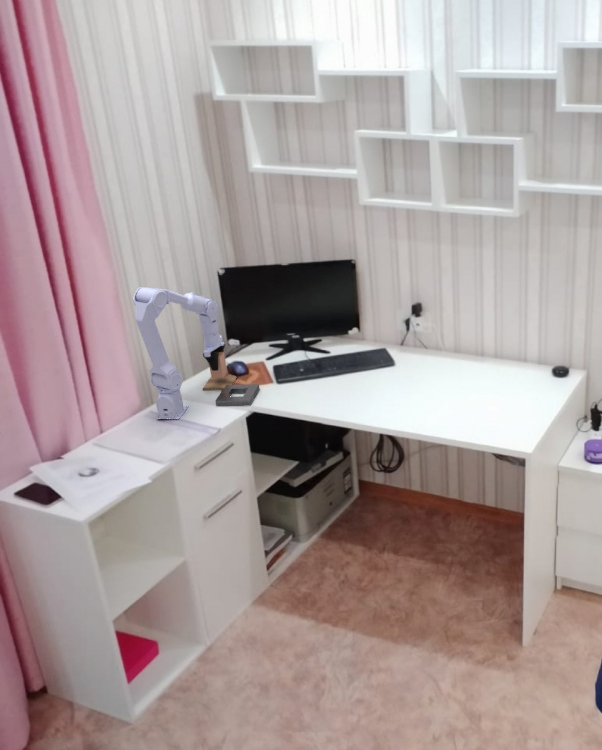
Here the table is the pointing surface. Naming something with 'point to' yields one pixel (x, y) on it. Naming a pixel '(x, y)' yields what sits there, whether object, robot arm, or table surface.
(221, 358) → the pinkish brown rectangular block
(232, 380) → the walnut pad
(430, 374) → the table surface
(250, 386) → the socket plate
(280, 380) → the table surface
